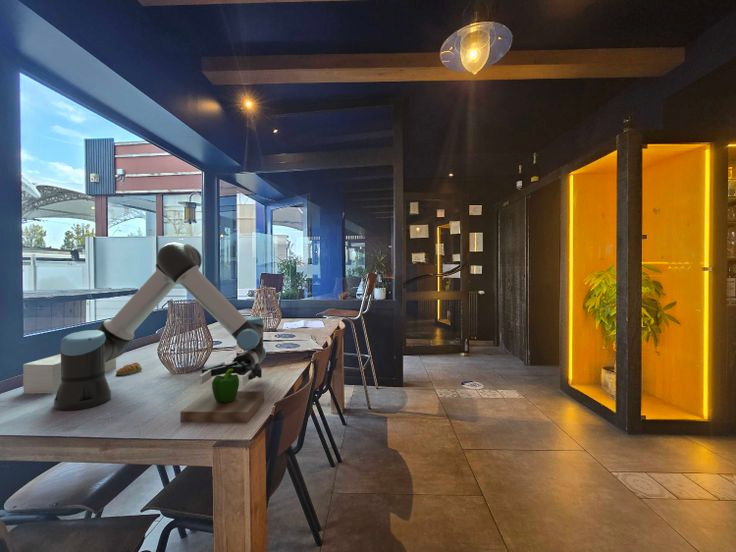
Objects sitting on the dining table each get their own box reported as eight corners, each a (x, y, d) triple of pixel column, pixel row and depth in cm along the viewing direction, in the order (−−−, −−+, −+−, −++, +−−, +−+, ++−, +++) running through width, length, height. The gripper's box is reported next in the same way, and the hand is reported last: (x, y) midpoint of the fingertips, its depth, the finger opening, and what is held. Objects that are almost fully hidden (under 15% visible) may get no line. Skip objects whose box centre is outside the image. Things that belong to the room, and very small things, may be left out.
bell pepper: (217, 407, 110) (218, 375, 110) (208, 400, 116) (208, 369, 116) (244, 401, 116) (244, 370, 115) (233, 394, 122) (233, 365, 121)
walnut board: (180, 421, 107) (180, 411, 107) (207, 399, 125) (207, 390, 125) (247, 422, 107) (247, 412, 107) (264, 400, 125) (264, 391, 125)
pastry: (124, 377, 148) (124, 368, 148) (111, 376, 150) (111, 367, 150) (143, 371, 158) (143, 362, 157) (131, 370, 159) (131, 361, 159)
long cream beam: (92, 368, 160) (92, 345, 160) (116, 369, 160) (116, 345, 160) (23, 393, 128) (23, 364, 128) (52, 394, 128) (52, 364, 128)
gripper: (278, 373, 134) (261, 392, 113) (212, 372, 134) (182, 391, 113) (278, 353, 134) (261, 369, 113) (212, 352, 134) (183, 368, 113)
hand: (222, 380), depth 113 cm, fingers open, 13 cm apart
